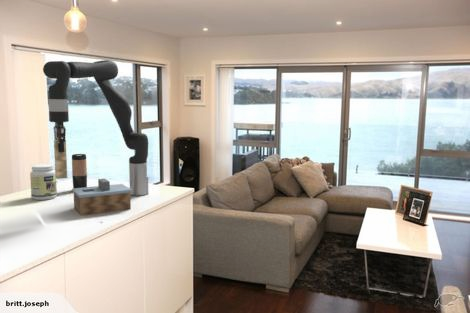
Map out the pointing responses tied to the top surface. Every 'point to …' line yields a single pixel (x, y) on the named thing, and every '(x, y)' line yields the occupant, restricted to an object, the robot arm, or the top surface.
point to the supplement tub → (43, 182)
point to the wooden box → (102, 203)
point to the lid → (101, 189)
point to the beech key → (60, 161)
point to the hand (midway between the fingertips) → (60, 151)
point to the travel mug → (79, 170)
